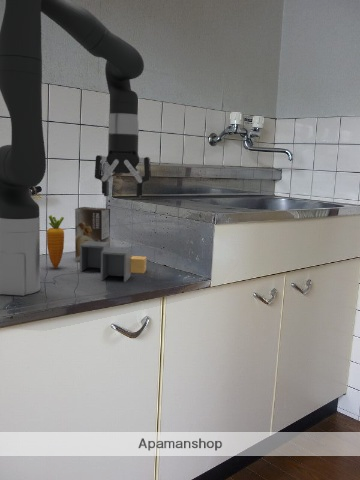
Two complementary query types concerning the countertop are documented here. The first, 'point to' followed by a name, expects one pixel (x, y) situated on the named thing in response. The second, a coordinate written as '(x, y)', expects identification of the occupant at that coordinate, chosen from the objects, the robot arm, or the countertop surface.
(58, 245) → the carrot
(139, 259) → the cube
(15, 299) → the countertop surface
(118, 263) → the cube hood
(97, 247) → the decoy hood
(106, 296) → the countertop surface
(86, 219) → the coffee box
